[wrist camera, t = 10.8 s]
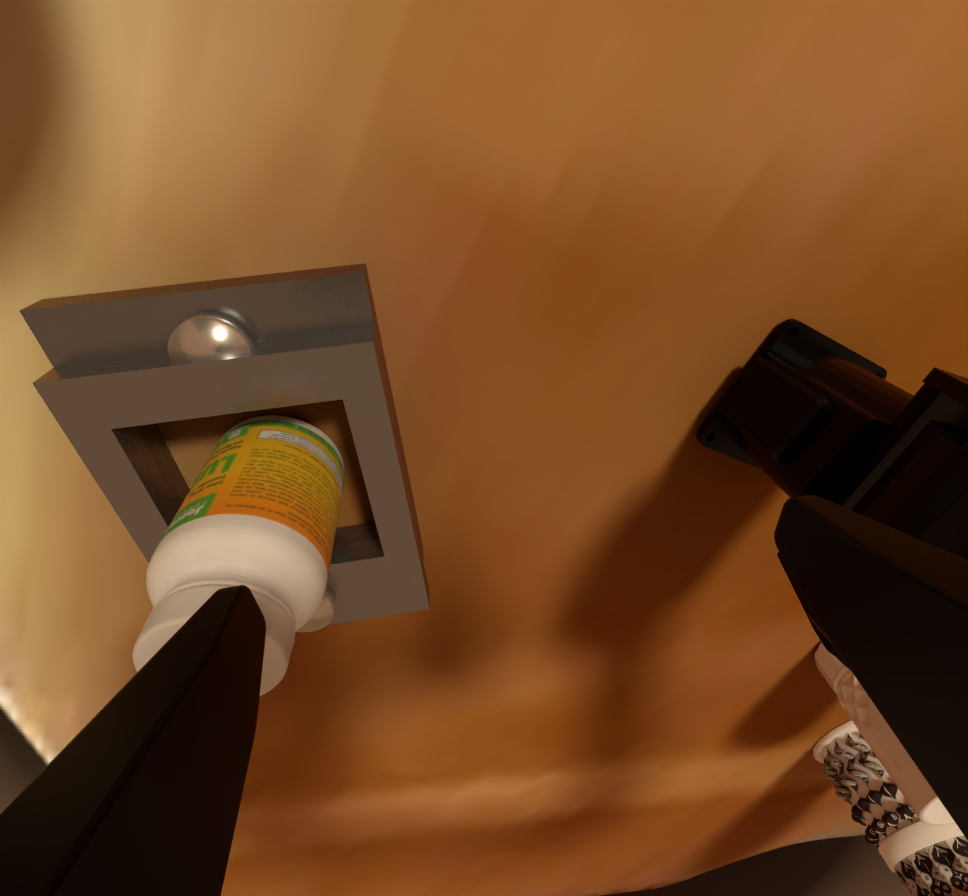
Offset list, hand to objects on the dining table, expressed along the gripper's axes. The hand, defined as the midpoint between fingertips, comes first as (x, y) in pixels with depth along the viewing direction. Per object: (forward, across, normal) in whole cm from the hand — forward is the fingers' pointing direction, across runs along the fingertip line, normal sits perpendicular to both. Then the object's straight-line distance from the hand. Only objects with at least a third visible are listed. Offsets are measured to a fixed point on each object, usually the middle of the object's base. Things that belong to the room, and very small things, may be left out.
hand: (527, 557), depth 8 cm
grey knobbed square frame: (+13, +9, +6) cm, 17 cm away
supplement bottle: (+13, +8, +6) cm, 17 cm away
